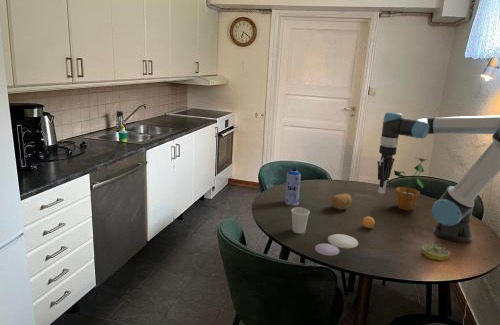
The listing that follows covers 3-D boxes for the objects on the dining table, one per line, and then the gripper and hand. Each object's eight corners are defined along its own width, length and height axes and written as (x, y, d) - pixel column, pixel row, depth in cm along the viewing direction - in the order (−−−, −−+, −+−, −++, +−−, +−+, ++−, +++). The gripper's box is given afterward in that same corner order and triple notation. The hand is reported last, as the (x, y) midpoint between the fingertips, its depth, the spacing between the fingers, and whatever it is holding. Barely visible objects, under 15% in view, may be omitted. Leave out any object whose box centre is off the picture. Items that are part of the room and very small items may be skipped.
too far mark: (344, 250, 154) (344, 250, 154) (330, 258, 147) (330, 257, 147) (324, 241, 161) (324, 241, 161) (310, 248, 154) (310, 248, 154)
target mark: (363, 242, 162) (363, 241, 162) (347, 251, 153) (347, 251, 153) (338, 231, 171) (338, 231, 171) (321, 240, 162) (321, 239, 162)
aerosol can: (283, 204, 202) (285, 168, 197) (286, 199, 210) (288, 165, 204) (297, 206, 200) (300, 170, 195) (300, 201, 207) (302, 167, 202)
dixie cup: (310, 229, 172) (312, 209, 170) (303, 236, 165) (305, 215, 163) (294, 225, 176) (295, 205, 174) (286, 231, 169) (288, 211, 167)
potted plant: (430, 211, 201) (440, 158, 193) (403, 215, 194) (412, 160, 186) (406, 200, 217) (414, 150, 209) (380, 203, 210) (387, 151, 202)
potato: (355, 207, 201) (357, 194, 199) (341, 214, 192) (343, 200, 190) (340, 202, 208) (341, 189, 206) (325, 208, 198) (327, 194, 196)
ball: (376, 227, 177) (377, 217, 176) (370, 231, 174) (371, 220, 172) (365, 224, 181) (367, 213, 180) (359, 227, 177) (361, 216, 176)
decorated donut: (447, 253, 156) (449, 245, 155) (450, 265, 147) (452, 256, 146) (420, 247, 160) (422, 239, 159) (421, 259, 150) (423, 250, 149)
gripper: (387, 142, 181) (380, 188, 187) (374, 145, 172) (367, 193, 178) (402, 145, 175) (394, 192, 182) (389, 148, 167) (382, 198, 173)
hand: (381, 192), depth 180 cm, fingers closed
